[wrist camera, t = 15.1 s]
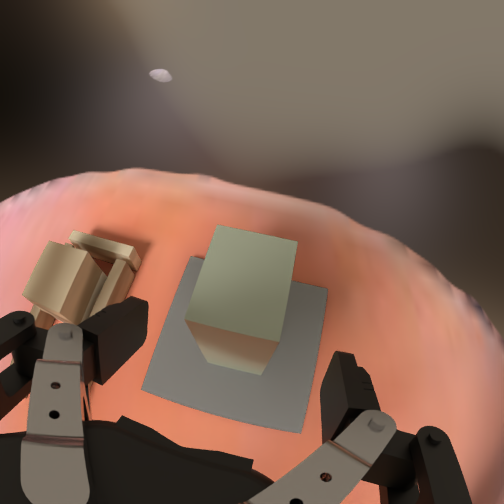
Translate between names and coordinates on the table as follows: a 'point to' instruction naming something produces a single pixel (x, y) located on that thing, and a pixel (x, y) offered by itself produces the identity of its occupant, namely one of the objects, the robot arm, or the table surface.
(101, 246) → the birch rack
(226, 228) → the pale green rectangular block
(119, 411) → the table surface
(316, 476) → the robot arm
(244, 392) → the grey mat
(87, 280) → the upper offcut
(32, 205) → the table surface
